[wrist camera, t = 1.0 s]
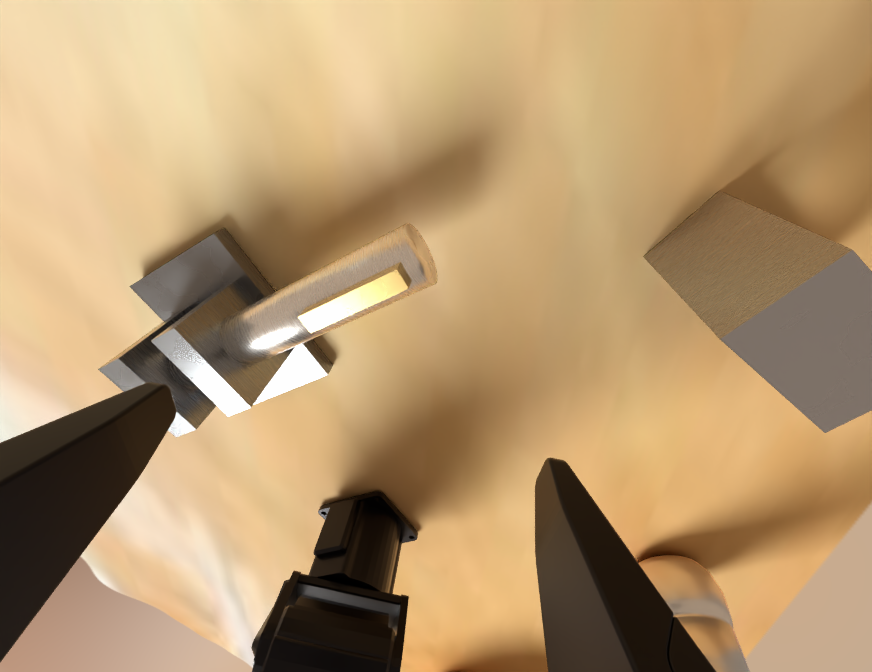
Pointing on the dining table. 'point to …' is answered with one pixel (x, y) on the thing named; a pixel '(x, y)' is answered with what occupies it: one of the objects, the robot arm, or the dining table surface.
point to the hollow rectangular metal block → (778, 303)
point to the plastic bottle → (698, 608)
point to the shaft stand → (256, 321)
